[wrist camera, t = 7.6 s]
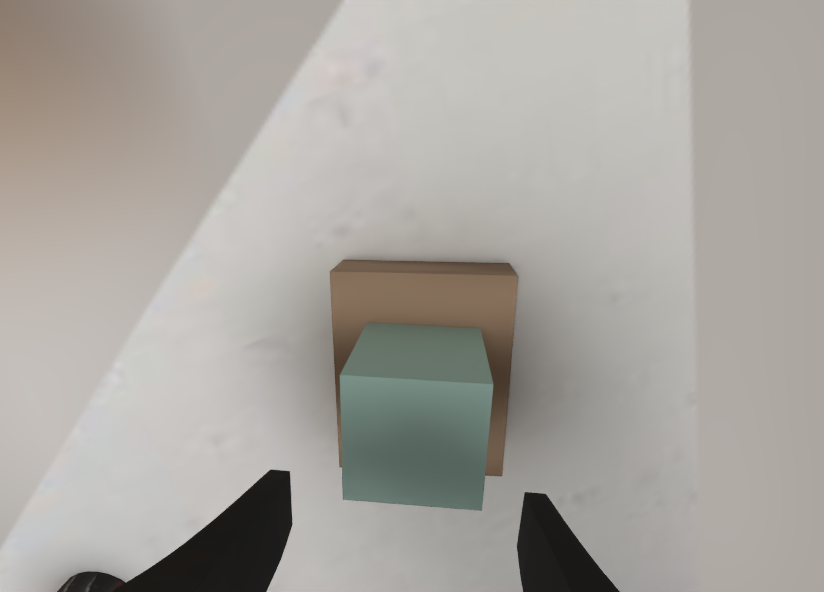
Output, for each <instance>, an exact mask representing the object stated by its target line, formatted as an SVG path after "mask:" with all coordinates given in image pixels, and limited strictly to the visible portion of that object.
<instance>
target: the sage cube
mask: <svg viewBox="0 0 824 592" xmlns="http://www.w3.org/2000/svg"><path fill="white" fill-rule="evenodd" d="M492 395H493V380H492V376H491V371H490V367H489V363H488V359H487V354H486V350H485V346H484V341H483V337H482V333H481V328H462V327H443V326H424V325H405V324H385V323H366V325H365V327H364V329H363V331H362V333H361V335H360V337H359V339H358V341H357V343H356V345H355V347H354V349H353V351H352V352H351V354H350V356H349V358H348V360H347V362H346V364H345V366H344V368H343V370H342V372H341V374H340V403H341V444H342V484H343V500H355V501H368V502H380V503H393V504H405V505H418V506H430V507H443V508H455V509H468V510H480V511H482V502H483V491H484V481H485V470H486V459H487V449H488V438H489V427H490V416H491V406H492Z"/></svg>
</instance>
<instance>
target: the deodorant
mask: <svg viewBox="0 0 824 592" xmlns="http://www.w3.org/2000/svg"><path fill="white" fill-rule="evenodd" d="M123 584H125V582H123V581H122V580H120V579H117V578H115V577H113V576H111V575H107V574H103V573H99V572H85V573H80V574H77V575H75V576H73V577H71V578H70V579H69V580H68V581H67V582H66V583H65V584H64V585H63V586H62V587H61V588H60V589H59V590H58V591H57V592H112V591H114V590H115V589H117V588H118V587H120V586H122V585H123Z"/></svg>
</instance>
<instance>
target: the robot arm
mask: <svg viewBox="0 0 824 592" xmlns="http://www.w3.org/2000/svg"><path fill="white" fill-rule="evenodd" d="M291 527H292V507H291V486H290V471H280V470H270V471H269V472H267V473H266V474H265V475H264V476H263V477H262V478H261V479H259V480H258V481H257V482H256V483H255V484H254V485H253V486H252V487H251V488H250V489H248V490H247V491H246V492H245V493H244V494H243V495H242V496H241V497H240V498H239V499H237V500H236V501H235V502H234V503H233V504H232V505H231V506H229V507H228V508H227V509H226V510H225V511H224V512H222V513H221V514H220V515H219V516H218V517H217V518H216V519H214V520H213V521H212V522H211V523H210V524H208V525H207V526H206V527H205V528H203V529H202V530H201V531H200V532H198V533H197V534H196V535H195V536H193V537H192V538H191V539H190V540H188V541H187V542H186V543H184V544H183V545H182V546H180V547H179V548H178V549H176V550H175V551H174V552H172V553H171V554H170V555H168V556H167V557H165V558H164V559H162V560H161V561H159V562H158V563H156V564H155V565H154V566H152V567H151V568H149V569H148V570H146V571H145V572H143V573H141V574H140V575H138V576H136V577H135V578H133V579H132V580H130V581H128V582H127V583H125V584H123V585H122V586H120V587H118V588H117V589H115V590H114V591H112V592H266V591H267V589H268V587H269V585H270V582H271V580H272V578H273V576H274V573H275V571H276V569H277V567H278V565H279V562H280V560H281V557H282V554H283V552H284V549H285V546H286V543H287V540H288V536H289V533H290V530H291ZM517 551H518V559H519V567H520V575H521V582H522V587H523V592H619V590H618V589H617V588H616V587H615V586H614V584H613V583H612V582H611V581H610V580H609V579H608V577H607V576H606V575H605V574H604V573H603V571H602V570H601V569H600V568H599V566H598V565H597V564H596V563H595V561H594V560H593V559H592V557H591V556H590V555H589V554H588V552H587V551H586V550H585V548H584V547H583V546H582V544H581V543H580V542H579V540H578V539H577V538H576V536H575V535H574V534H573V532H572V531H571V529H570V528H569V527H568V525H567V524H566V522H565V521H564V520H563V518H562V517H561V515H560V514H559V512H558V511H557V509H556V508H555V506H554V505H553V503H552V502H551V501H550V499H549V498H548V496H547V495H546V494H539V493H528V492H525V495H524V501H523V508H522V515H521V522H520V529H519V536H518V542H517Z"/></svg>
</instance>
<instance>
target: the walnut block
mask: <svg viewBox="0 0 824 592" xmlns="http://www.w3.org/2000/svg"><path fill="white" fill-rule="evenodd" d="M330 284H331V304H332V324H333V344H334V364H335V384H336V404H337V424H338V444H339V464H340V467H342V444H341V403H340V374H341V372H342V370H343V368H344V366H345V364H346V362H347V360H348V358H349V356H350V354H351V352H352V351H353V349H354V347H355V345H356V343H357V341H358V339H359V337H360V335H361V333H362V331H363V329H364V327H365V325H366V323H385V324H405V325H424V326H443V327H462V328H481V333H482V337H483V341H484V346H485V350H486V354H487V359H488V363H489V367H490V371H491V376H492V380H493V395H492V406H491V416H490V427H489V438H488V449H487V459H486V470H485V475H486V476H502V471H503V458H504V446H505V433H506V421H507V408H508V396H509V383H510V371H511V358H512V346H513V334H514V321H515V309H516V296H517V284H518V275H517V274H516V272H515V271H514V270H513V268H512V267H511V265H510V264H509V263H465V262H417V261H369V260H343V261H342V262H340V263H339V264H338V265H337V266H336V267H335V268H333V269H332V270H331V271H330Z"/></svg>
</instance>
